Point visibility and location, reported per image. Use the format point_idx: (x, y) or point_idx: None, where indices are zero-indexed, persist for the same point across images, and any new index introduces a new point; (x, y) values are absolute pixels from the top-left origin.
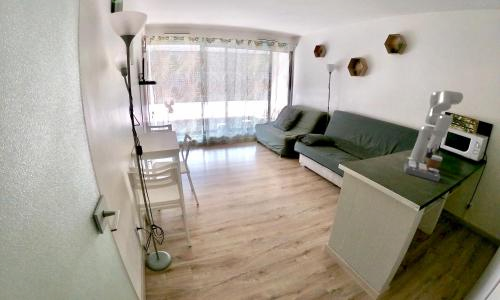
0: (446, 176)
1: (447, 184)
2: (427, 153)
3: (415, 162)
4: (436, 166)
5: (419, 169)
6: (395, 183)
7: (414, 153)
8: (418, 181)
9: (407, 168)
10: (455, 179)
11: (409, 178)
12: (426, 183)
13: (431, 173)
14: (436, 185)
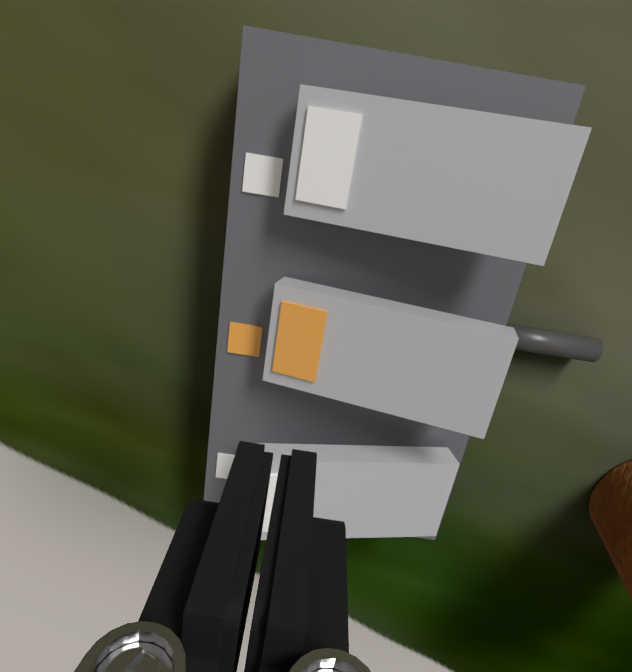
0: (489, 601)
1: None
2: (206, 551)
3: (503, 254)
4: (628, 593)
5: None
6: None
7: None
8: (5, 188)
9: (242, 47)
10: (444, 650)
11: (17, 64)
12: (24, 287)
13: (260, 427)
14: (62, 394)
